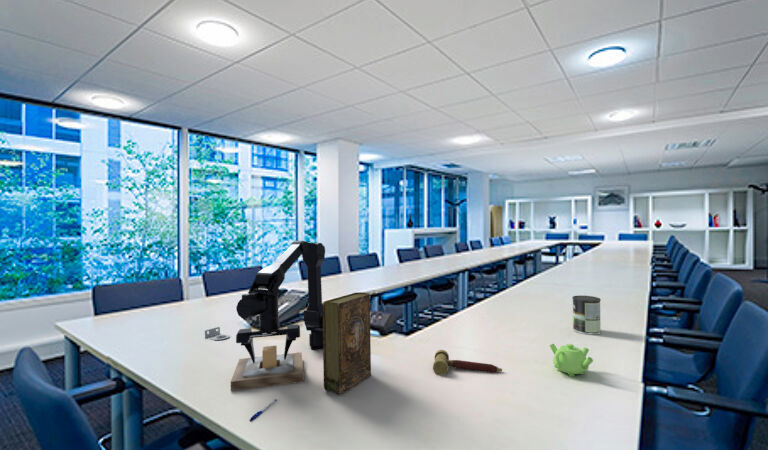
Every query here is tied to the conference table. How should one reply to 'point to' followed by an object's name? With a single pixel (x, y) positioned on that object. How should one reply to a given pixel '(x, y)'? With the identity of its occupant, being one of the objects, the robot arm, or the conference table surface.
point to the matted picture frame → (267, 372)
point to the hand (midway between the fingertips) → (269, 360)
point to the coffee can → (586, 315)
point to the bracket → (214, 332)
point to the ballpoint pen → (262, 410)
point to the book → (346, 342)
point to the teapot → (571, 359)
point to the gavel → (459, 364)
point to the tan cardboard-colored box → (269, 356)
